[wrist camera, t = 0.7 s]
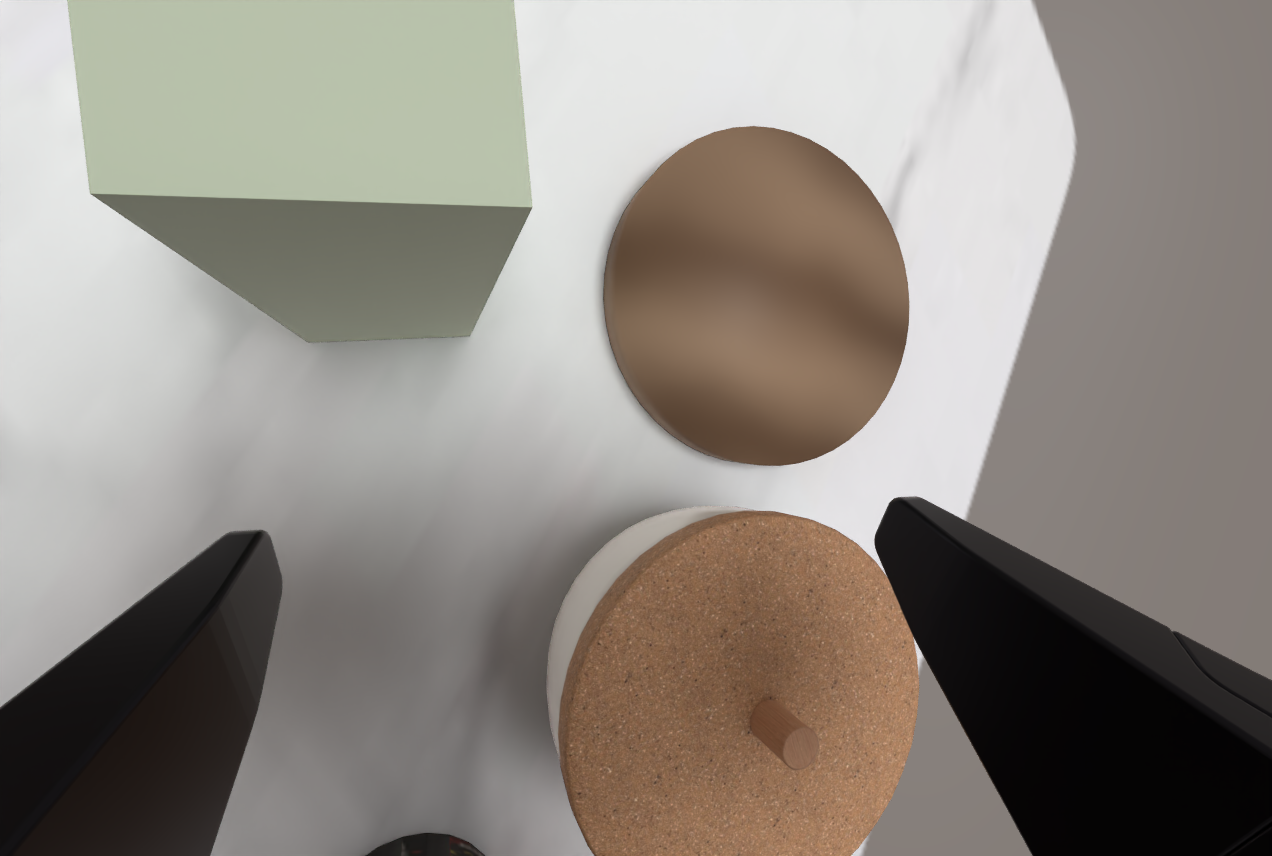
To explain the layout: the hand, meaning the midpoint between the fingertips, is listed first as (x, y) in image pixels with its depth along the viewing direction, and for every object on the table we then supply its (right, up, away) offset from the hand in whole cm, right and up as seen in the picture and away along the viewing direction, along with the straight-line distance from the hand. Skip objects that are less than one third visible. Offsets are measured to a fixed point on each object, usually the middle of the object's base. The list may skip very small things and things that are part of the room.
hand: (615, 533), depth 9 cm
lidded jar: (+1, -6, +15) cm, 16 cm away
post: (-8, +7, +11) cm, 15 cm away
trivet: (+5, +7, +16) cm, 18 cm away
